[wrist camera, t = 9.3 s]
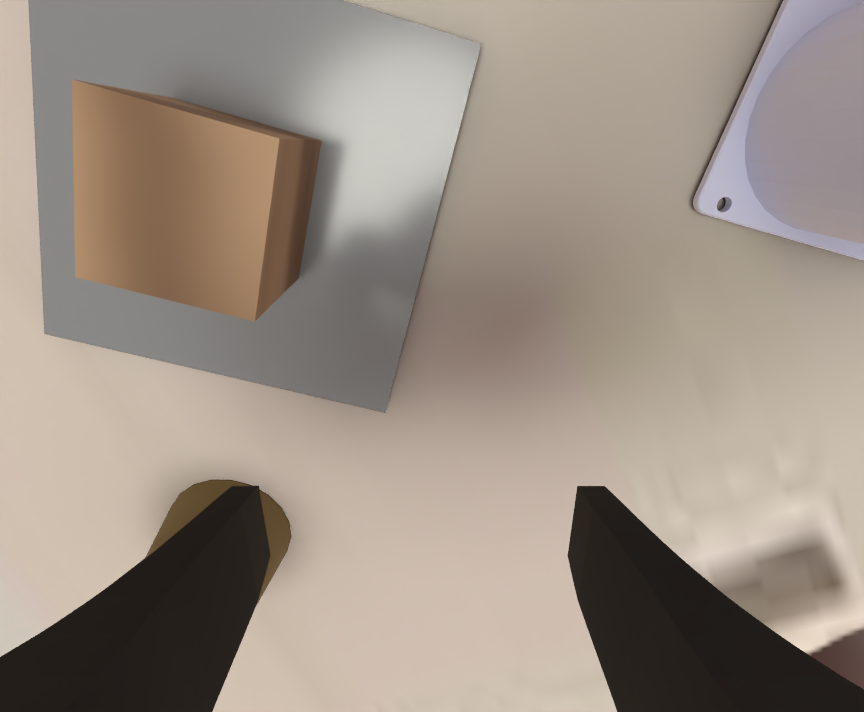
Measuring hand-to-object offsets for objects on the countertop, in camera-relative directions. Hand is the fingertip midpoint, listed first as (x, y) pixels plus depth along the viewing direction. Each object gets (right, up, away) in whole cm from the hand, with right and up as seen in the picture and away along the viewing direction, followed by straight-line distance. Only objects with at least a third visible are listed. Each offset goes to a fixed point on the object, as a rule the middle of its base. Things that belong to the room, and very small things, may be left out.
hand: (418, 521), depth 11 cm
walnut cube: (-7, +10, +6) cm, 13 cm away
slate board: (-7, +10, +7) cm, 14 cm away
